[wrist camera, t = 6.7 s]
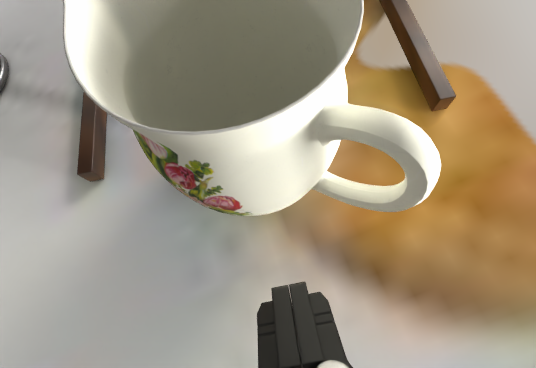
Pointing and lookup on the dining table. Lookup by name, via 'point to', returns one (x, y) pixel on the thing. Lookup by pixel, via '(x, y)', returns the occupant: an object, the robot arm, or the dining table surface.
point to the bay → (409, 39)
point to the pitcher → (242, 98)
